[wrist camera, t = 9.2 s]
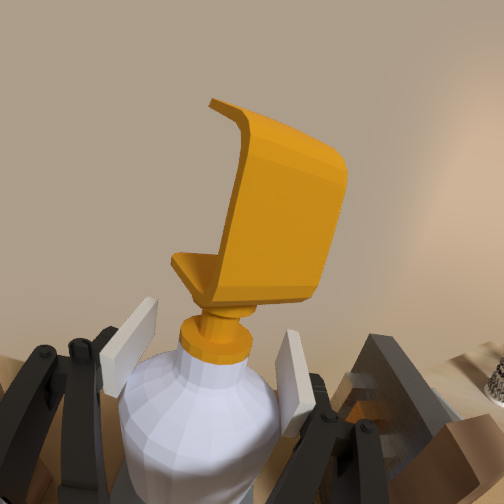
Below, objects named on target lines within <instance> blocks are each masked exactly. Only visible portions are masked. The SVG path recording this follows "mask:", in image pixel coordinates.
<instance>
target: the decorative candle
mask: <svg viewBox="0 0 504 504" xmlns="http://www.w3.org/2000/svg"><path fill="white" fill-rule="evenodd" d="M500 363H501V364H500V365H498V366H497V371H495V372H493V374H492V378H490V379H489V380H488V384H486V386H485V387H484V392H485V394H486V396H487V397H488V398H489V399H490V401H492V402H493V403H494V404H495V405H497V406H499V407H502V408H504V358H502V359H501V361H500Z"/></svg>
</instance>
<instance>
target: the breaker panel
mask: <svg viewBox="0 0 504 504" xmlns="http://www.w3.org/2000/svg"><path fill="white" fill-rule="evenodd" d="M330 404H331V407H332V410H334V411H336V412H337V413H338V414H339V416H340V418H341V420H344V421H347V422H351V423H354V424H355V423H356V422H357V421H358V420H359V419H369V420H371V421H373V422H374V423H375V424H376V425H377V427H378V429H379V435H380V440H381V446H382V452H383V458H384V464H385V471H386V478H387V484H388V483H389V482H390V481H391V480H392V479H393V478H394V477H395V476H397V475H398V474H399V473H400V472H401V471H402V470H403V469H404V468H405V467H406V466H407V465H408V464H409V463H410V462H411V461H412V460H413V459H414V458H415V457H416V456H417V455H418V454H419V453H420V452H421V451H422V450H423V449H424V448H425V447H426V446H427V445H428V443H429V442H430V441H431V440H432V439H433V438H434V437H435V436H436V434H437V433H438V432H439V431H440V430H441V428H442V427H443V426H444V425H445V424H446V423H451V422H453V421H452V419H451V418H450V416H449V415H448V413H447V412H446V410H445V409H444V407H443V406H442V404H441V403H440V401H439V400H438V399H437V397H436V396H435V394H434V393H433V391H432V390H431V388H430V387H429V386H428V384H427V383H426V381H425V380H424V379H423V377H422V376H421V374H420V373H419V372H418V370H417V369H416V368H415V366H414V365H413V363H412V362H411V361H410V359H409V358H408V357H407V355H406V354H405V353H404V351H403V350H402V349H401V347H400V346H399V345H398V343H397V342H396V341H395V340H394V338H393V337H391V336H384V335H377V334H369V336H368V338H367V340H366V342H365V344H364V346H363V348H362V350H361V352H360V354H359V356H358V358H357V360H356V362H355V364H354V367H353V368H352V370H351V372H346V373H345V375H344V377H343V379H342V381H341V383H340V384H339V386H338V388H337V390H336V392H335V393H334V395H333V397H332V399H331V400H330ZM332 488H333V456H331V455H330V458H329V461H328V464H327V466H326V469H325V472H324V475H323V478H322V480H321V483H320V485H319V489H320V495H321V501H322V504H332Z"/></svg>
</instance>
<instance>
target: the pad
mask: <svg viewBox="0 0 504 504" xmlns="http://www.w3.org/2000/svg"><path fill="white" fill-rule="evenodd" d="M109 501H110V504H146V503H145V502H144V501H143V500H142V499H141V498H140V497H139V496H138V495H137V494H136V492H135V489H134V487H133V484H132V481H131V478H130V475H129V471H128V466H127V461H126V456H125V459H124V461H123V463H122V466H121V468H120V471H119V473H118V476H117V478H116V481H115V484H114V486H113V489H112V491H111V494H110V496H109ZM239 504H253V484H252V486H251V487H250V489H249V490H248V492H247V493H246V495H245V496H244V498H243V499H242V500H241V502H240V503H239Z"/></svg>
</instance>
